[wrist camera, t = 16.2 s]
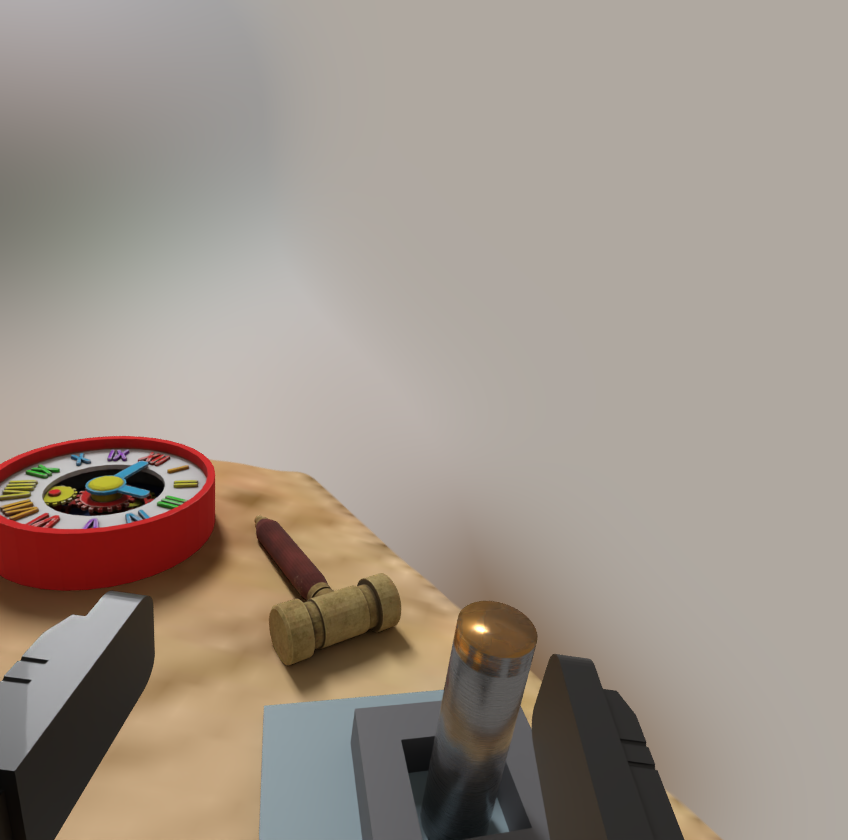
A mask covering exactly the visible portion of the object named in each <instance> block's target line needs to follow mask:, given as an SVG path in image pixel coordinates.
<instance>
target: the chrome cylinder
mask: <svg viewBox="0 0 848 840" xmlns="http://www.w3.org/2000/svg"><path fill="white" fill-rule="evenodd" d="M536 643H537V632H536V629H535V627H534V625H533V624H532V622H531V621H530V620H529V618H527V616H525V615H524V614H523V613H522V612H520V611H519V610H517V609H515V608H513V607H511V606H509V605H506V604H503V603H499V602H494V601H479V602H474V603H471V604H470V605H467V606H466V607H464V608H463V609H462V610H461V612H460V613H459V616H458V620H457V625H456V630H455V635H454V640H453V646H452V651H451V656H450V661H449V666H448V672H447V677H446V682H445V687H444V692H443V698H442V703H441V708H440V713H439V718H438V723H437V729H436V734H435V739H434V744H433V749H432V755H431V760H430V765H429V770H428V775H427V781H426V786H425V791H424V796H423V801H422V807H421V813H420V819H421V825H422V828H423V831H424V833H425V835H426V837H427V838H428V840H463V839H469V838H475V837H481V836H487V832H488V828H489V825H490V821H491V817H492V813H493V809H494V805H495V801H496V798H497V794H498V790H499V786H500V782H501V778H502V774H503V770H504V767H505V763H506V759H507V755H508V751H509V747H510V743H511V740H512V736H513V732H514V728H515V724H516V720H517V716H518V713H519V709H520V705H521V701H522V697H523V693H524V689H525V686H526V682H527V678H528V674H529V670H530V666H531V662H532V658H533V654H534V651H535V647H536Z"/></svg>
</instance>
